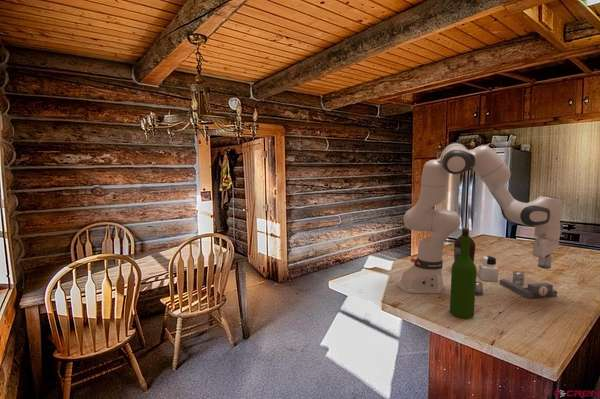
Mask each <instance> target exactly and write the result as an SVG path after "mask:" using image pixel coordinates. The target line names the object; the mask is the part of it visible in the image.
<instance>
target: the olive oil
mask: <svg viewBox="0 0 600 399" xmlns="http://www.w3.org/2000/svg"><path fill="white" fill-rule="evenodd" d="M461 229H462V230H461V235H460V236H459V237H457V238H456V239H455V240H454V243H453V260H454V262H455V260H456V259H457V258H458V257H459V256H460V253H461V239H462V236H469V237H470V247H469V256H470V258H471V259H472V261H473V263H474V261H475V255H476V254H475V253H476V243H475V241H474V239H472V237H471V236H470V233H469V232H470V231H469V229H470V228H468V227H463V228H461ZM454 262H453V263H454ZM474 264H475V263H474Z"/></svg>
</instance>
